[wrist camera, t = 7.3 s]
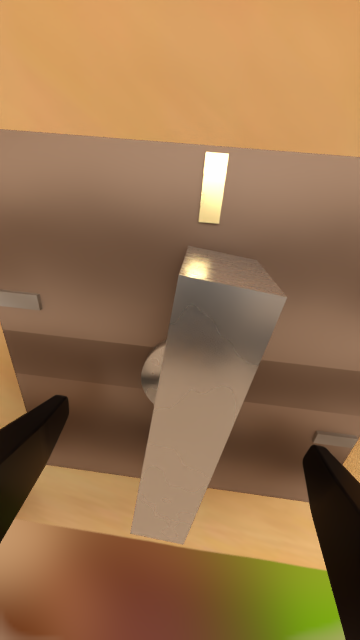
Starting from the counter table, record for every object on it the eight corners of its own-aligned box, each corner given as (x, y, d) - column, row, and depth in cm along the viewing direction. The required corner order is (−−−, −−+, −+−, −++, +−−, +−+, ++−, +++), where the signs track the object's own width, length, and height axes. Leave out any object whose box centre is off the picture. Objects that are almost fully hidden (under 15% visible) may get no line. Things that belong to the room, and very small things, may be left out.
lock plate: (301, 458, 18) (319, 507, 15) (65, 426, 19) (40, 467, 16) (438, 177, 10) (533, 169, 7) (8, 142, 11) (-64, 122, 8)
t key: (169, 230, 11) (133, 265, 5) (267, 250, 11) (332, 307, 5) (140, 417, 16) (108, 529, 11) (205, 430, 16) (205, 548, 11)
